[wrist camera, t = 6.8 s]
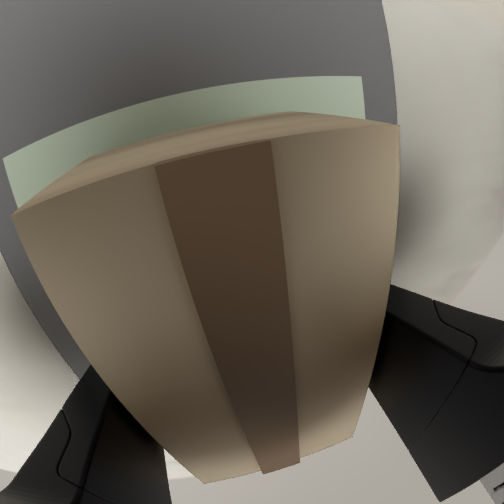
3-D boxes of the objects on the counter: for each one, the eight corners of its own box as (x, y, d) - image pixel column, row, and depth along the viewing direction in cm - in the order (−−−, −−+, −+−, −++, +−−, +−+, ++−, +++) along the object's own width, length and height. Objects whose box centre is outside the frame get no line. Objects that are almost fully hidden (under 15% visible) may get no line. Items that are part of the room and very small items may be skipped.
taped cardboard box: (307, 357, 11) (354, 440, 8) (186, 392, 10) (204, 487, 7) (289, 111, 7) (406, 127, 3) (88, 157, 6) (4, 219, 2)
